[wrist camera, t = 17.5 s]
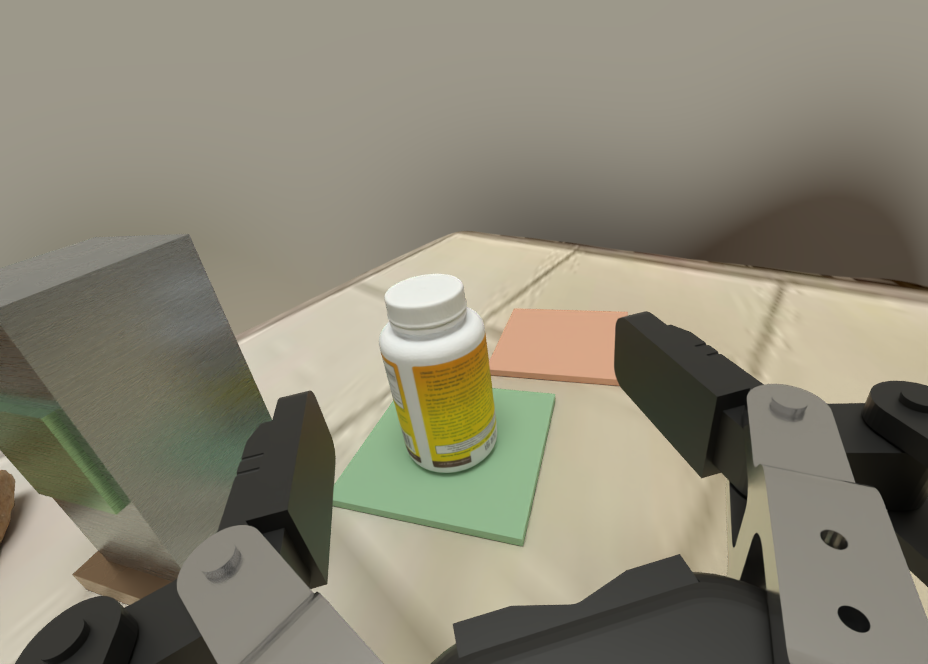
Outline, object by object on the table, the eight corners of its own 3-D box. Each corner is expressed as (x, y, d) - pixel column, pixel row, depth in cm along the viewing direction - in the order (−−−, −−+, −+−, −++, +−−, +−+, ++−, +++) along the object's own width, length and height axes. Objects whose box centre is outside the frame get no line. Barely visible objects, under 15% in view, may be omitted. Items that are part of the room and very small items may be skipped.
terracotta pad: (514, 313, 41) (514, 308, 41) (627, 317, 38) (627, 311, 37) (486, 374, 33) (485, 369, 33) (626, 386, 30) (627, 380, 29)
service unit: (223, 455, 29) (101, 231, 21) (325, 474, 26) (225, 225, 19) (85, 589, 21) (-173, 318, 14) (207, 633, 19) (-34, 330, 11)
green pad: (408, 385, 33) (407, 380, 33) (555, 399, 29) (555, 394, 29) (327, 504, 24) (324, 498, 24) (522, 546, 20) (522, 539, 20)
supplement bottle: (514, 426, 27) (500, 272, 22) (467, 492, 23) (436, 323, 18) (441, 403, 30) (414, 263, 25) (388, 458, 26) (343, 304, 21)
